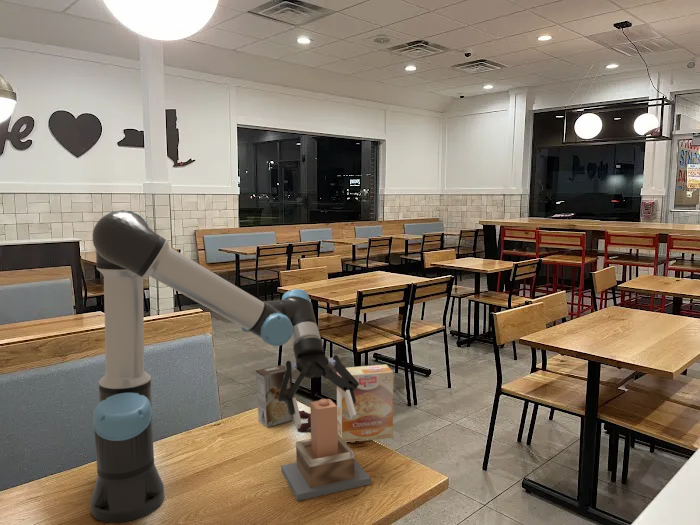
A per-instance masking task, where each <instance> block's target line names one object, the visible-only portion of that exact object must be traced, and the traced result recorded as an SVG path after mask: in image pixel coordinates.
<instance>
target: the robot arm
mask: <svg viewBox="0 0 700 525" xmlns="http://www.w3.org/2000/svg"><path fill="white" fill-rule="evenodd" d="M92 243H93V247H94V250H95V256H96V257H95V259H96V264H95V265H96V270H97V271H99V272H100V273H101V274H102V275H103V295H104V296H103V299H104V301H103V302H104V303H103V304H104V306H103V307H104V342H105V343H104V346H105V348H104V351H105V353H104V355H105V374H104V375H103V376H102V377H101V378H100V379H99V380H98V381H99V382H98V402H99V403H97V405H96V406H95V407H94V410H93V416H92V427H93V430H94V441H95V443H94V444H95V459H96V468H97V469H96V473H97V475H96V476H97V477H96V480H95V484H94V487H93V490H92V491H93V492H92V494H91V498H90V512H91V515H93V516H94V517H95V518H96V519H95V518H94V517H93V516H92V517H93V518H94V519H95V520H97V519H98V520H97V521H99V520H101V521H100V522H103V521H104V522H103V523H110V522H113V523H112V524H115V523H124V522H129V521H133V520H137V519H140V518H142V517H144V516H147V515H148V514H150V513H152V512H153V511H155V510H156V509H157V508H159V507H160V505H161V504H162V503H163V501H164V499H165V485H164V482H163V480H162V478H161V476H160V473H159V471H158V469H157V467H156V465H155V453H154V452H155V451H154V436H153V419H152V418H153V408H152V405H153V404H152V403H153V401H152V400H153V399H152V376H151V375H150V374H149V373H148V372H147V371H145V328H144V327H145V325H144V324H145V321H144V317H145V316H144V313H145V312H144V278H148V277H150V278H152V279H154V280H156V281H158V282H160V283H162V284H163V285H166V286H167V287H169V288H171V289H172V290H175V291H176V292H178V293H180V294H182V295H183V296H185V297H187V298H189V299H190V300H192V301H194V302H196V303H198V304H200V305H202V306H203V307H205V308H207V309H209V310H210V311H213V313H214V312H215V313H216V314H218V315H220V316H221V317H223V318H225V319H227V320H229V321H231V322H233V323H234V324H236V325H238V326H240V328H241V331H243V332H245V333H247V332H250V333H252V334H253V335H255V336H257V337H258V338H260V339H262V340H263V341H264V343H266V344H268V345H270V346H273V347H279V346H283V345H285V344H286V343H288V342H289V341H291V345H292V348H293V354H294V358H295V362H291V360H287V361H286V362H285V365H284V366H285V376H284V380H283V383H282V386H281V390H280V393H279V396H278V401H285V403H286V404H287V407H288V412H289V414H290V415H292V414H293V417H294V420H293V421H294V423H295V428H296V430H297V429H300V427H301V424H302V419H301V418H300V414H299V411H300V410H299V405H298V401H297V397H294V396H295V394H297V391H298V389H299V388H300V386H301V384H302V382H303V381H304V379H305V378H307V379H308V380H309V379H313V378H321V377H323V378H325V379H328V380H329V381H330V382H331V383H332V384H334V385H335V386H336V387H337V386H338V387H340V388H341V389H342V390H343V391H345V394H344V397H345V401H346V405H347V408H348V412H349V415H350V419H354V418H355V416H356V415H357V414H356V411H355V407H354V404H355V402H356V399H355V395H354V392H353V390H356V388H357V387H358V385H359V383H358V382H357V380H356V379H355V378H354V377H353V376H352V375H351V374H350V372H349V371H348V370H347V369H346V368H347V367H345V366H344V365H343V363H342V362H341V360H340V358H339V356H338V355H337V354H335V355H333V357H329V358H328V357H327V356H326V354H325V349H324V344H323V342H322V340H321V334H320V331H319V328H318V324H317V321H316V316H315V313H314V309H313V303H312V302H311V299H310V296H309V293H308V292H307V291H305V290H304V289H301V288H295V289H294V288H293V289H292V290H288V291H286V292H284V294H283V295H282V297H281V299H278V300H266V301H265V300H263V301H262V300H260V299H259V298H257V297H256V296H254V295H252V294H250V293H249V292H247V291H245V290H243V289H242V288H240V287H239V286H237V285H235V284H233V283H231V282H230V281H229V280H227V279H224V278H223V277H221V276H220V275H218V274H216V273H215V272H213V271H211V270H209V269H208V268H206V267H204V266H203V265H201V264H199V263H197V262H195V261H194V260H192V259H191V258H189V257H187V256H186V255H184V254H183V253H180V252H179V251H177V250H175V249H174V248H172V247H171V246H170V245H169V242H168V240H167V239H166V238H165V237H163V236H161V235H160V234H158V233H156V232H155V231H154V230H153V229H152V228H151V227H149V224H148V223H147V221H146V220H145V219H144V218H143V217H142V216H141V215H139V214H138V213H137V212H133V211H130V210H124V209H121V210H113V211H111V212H108V213H107V214H105V215H104V216H102V217H101V218H100V219H99V220H98V221H97V222H96V224H95V225H94V228H93V230H92ZM328 365H330V366H331V367H333V368H334V370H335V371H336V372H335V371H333V370H332V368H331V367H330V366H328ZM294 370H298V372H299V373H300V374H299V375H298V377H297V378H296V380H295V382H294V383H293V384H292V388H291V390H290V392H289V393H288V394H285V391H286V388H287V384H288V381H289V378H290V374H291V372H294ZM337 372H338V373H339V374H340V376H341V377H342V378H341V377H340V376H339V375H337ZM292 398H293V399H292ZM114 522H115V523H114Z"/></svg>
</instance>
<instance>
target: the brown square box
mask: <svg viewBox="0 0 700 525" xmlns="http://www.w3.org/2000/svg"><path fill="white" fill-rule="evenodd" d="M295 453H296V455H295V456H296V460H295V461H296V462H297V467H298V469H299V470H300V472H301V474H302V475H303V477H304V479H305V480H306V482H307V484H308V485H309V487H310V488H312V487H317V486H321V485H326V484H330V483H335V482H339V481H344V480H348V479H353V478H355V468H354V459H355V452H354V451H353V450H352V449H351V447H350V446H349V445H348V443H345V442H344V441H343V439H342V438H341V437H340V436H339V435H338V454H337V455H332V456H327V457H322V458H317V457H316V455H315V454H314V452H313V451H312V450H311V438H309V439H308V438H307V439H304V440H299V441H295Z"/></svg>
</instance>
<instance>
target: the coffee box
mask: <svg viewBox="0 0 700 525" xmlns="http://www.w3.org/2000/svg"><path fill="white" fill-rule="evenodd" d="M255 372H256V374H255V375H256V392H257V393H256V394H257V414H258V415H257V416H258V417H257V419H258V421H259V423H261V424H262V425H263V426H265V427H266V428H271V427H274V426H276V425H277V424H278V425H280V424H284V422H285V423H288V422H291V421H290V420H292V421H294V420H293V419H294V415H293V414H292V415H290V414H289V412H288V407H287V404H286V403H285V401H278V396H279V393H280V390H281V386H282V383H283V380H284V376H285V365H283V364H280V365H275V366H272V367H271V366H270V367H266V368H262V369H257V370H255ZM292 372H293V371H292ZM292 372H291V374H290V378H289V381H288V384H287V388H286V391H285V394H288V393H289V392H290V390H291V388H292V387H293V374H292ZM293 398H294V397H293ZM293 398H292V399H293ZM287 421H288V422H287Z"/></svg>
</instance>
